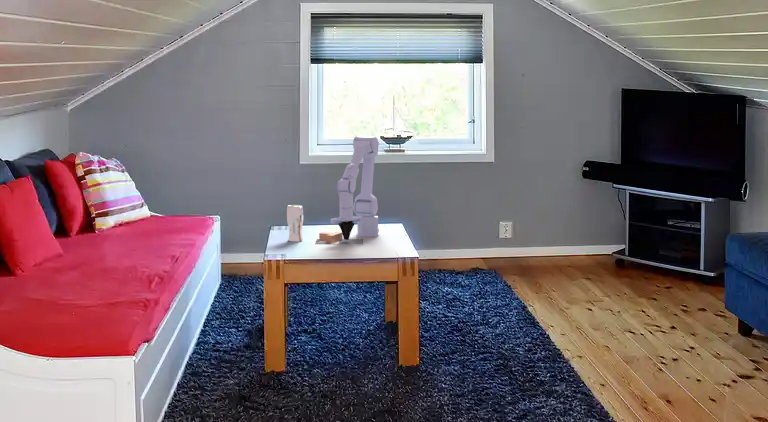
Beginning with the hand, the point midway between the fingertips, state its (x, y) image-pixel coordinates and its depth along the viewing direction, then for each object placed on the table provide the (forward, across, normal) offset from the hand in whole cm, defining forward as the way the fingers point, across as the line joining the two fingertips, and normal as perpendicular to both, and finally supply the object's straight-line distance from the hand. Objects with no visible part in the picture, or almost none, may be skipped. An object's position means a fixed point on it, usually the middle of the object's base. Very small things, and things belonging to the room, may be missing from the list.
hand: (346, 239), depth 315 cm
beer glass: (+2, +16, -16) cm, 22 cm away
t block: (+1, +4, -6) cm, 8 cm away
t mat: (+1, +2, -2) cm, 3 cm away
